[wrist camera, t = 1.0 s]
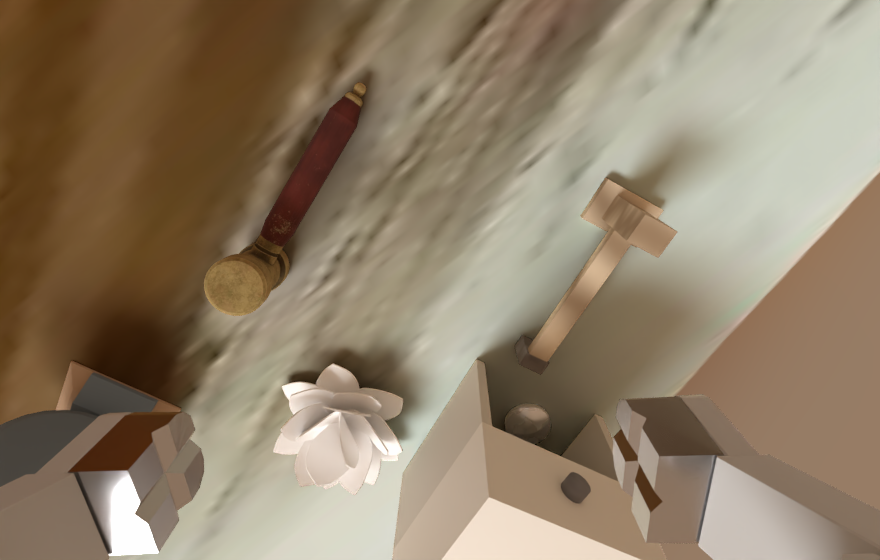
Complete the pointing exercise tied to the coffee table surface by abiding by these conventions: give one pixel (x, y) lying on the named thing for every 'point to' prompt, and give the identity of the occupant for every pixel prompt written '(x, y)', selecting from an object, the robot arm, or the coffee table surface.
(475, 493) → the cabinet
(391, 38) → the coffee table surface
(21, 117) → the coffee table surface
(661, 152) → the coffee table surface
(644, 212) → the hook tool
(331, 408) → the lotus flower
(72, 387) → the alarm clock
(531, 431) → the disc
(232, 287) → the gavel
